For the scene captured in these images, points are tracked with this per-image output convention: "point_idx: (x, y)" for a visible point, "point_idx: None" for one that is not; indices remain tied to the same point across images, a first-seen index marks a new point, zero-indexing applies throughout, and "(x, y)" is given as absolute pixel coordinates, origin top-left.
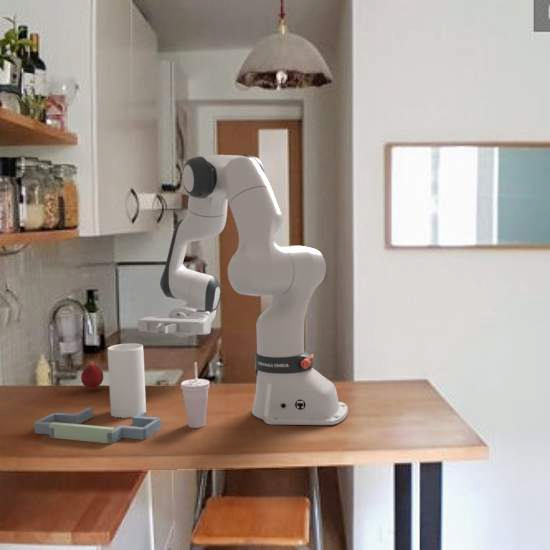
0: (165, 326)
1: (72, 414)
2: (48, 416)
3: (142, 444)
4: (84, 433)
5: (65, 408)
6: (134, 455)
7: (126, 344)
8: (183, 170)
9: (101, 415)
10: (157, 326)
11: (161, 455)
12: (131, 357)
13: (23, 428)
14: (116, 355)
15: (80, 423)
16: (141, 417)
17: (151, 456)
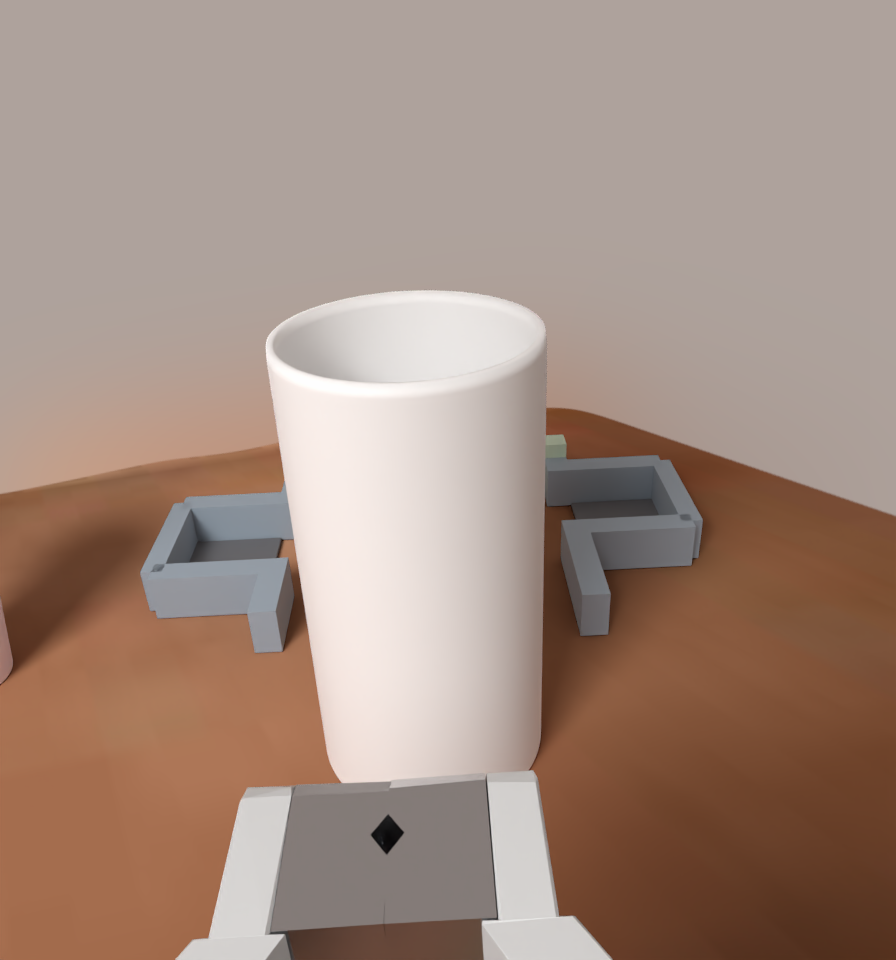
0: (275, 839)
1: (599, 528)
2: (681, 497)
3: None
4: None
5: (874, 692)
6: (181, 467)
7: (474, 377)
8: None
9: (556, 662)
10: (506, 785)
11: (91, 481)
12: (315, 361)
13: (752, 504)
14: (407, 323)
15: (564, 571)
16: (242, 566)
17: (123, 473)
